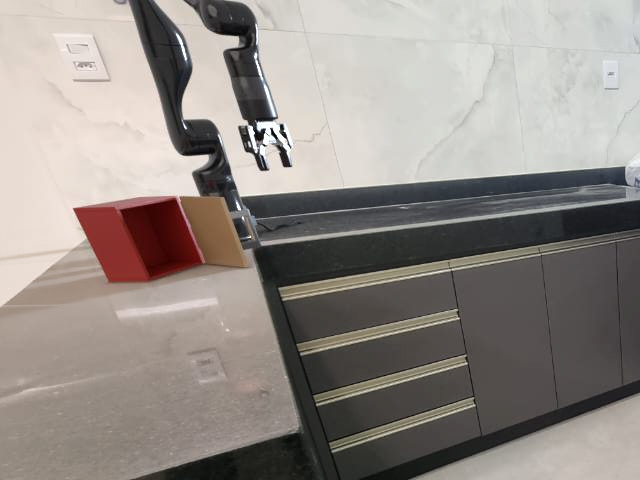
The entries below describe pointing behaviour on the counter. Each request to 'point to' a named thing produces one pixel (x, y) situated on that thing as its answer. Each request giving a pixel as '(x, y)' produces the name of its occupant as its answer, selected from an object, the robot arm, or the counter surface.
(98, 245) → the red cabinet
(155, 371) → the counter surface
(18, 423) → the counter surface
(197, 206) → the wooden cabinet door
